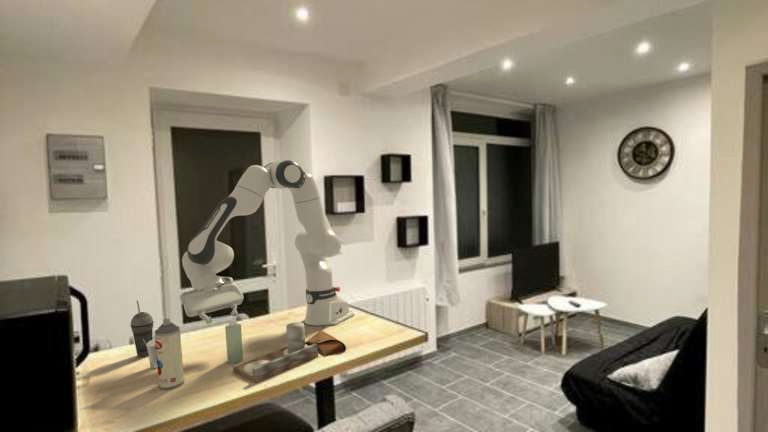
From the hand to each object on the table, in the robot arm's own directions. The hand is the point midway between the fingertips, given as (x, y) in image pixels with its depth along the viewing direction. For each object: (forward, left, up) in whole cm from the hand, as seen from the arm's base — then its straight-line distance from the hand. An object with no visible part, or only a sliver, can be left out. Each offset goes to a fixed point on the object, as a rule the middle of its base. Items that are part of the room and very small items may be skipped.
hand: (223, 318), depth 147 cm
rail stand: (-7, +20, -13) cm, 25 cm away
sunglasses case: (-26, +22, -14) cm, 37 cm away
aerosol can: (+21, +6, -13) cm, 26 cm away
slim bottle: (0, +6, -13) cm, 15 cm away
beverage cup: (+17, -26, -13) cm, 34 cm away
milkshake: (+19, -12, -13) cm, 26 cm away
